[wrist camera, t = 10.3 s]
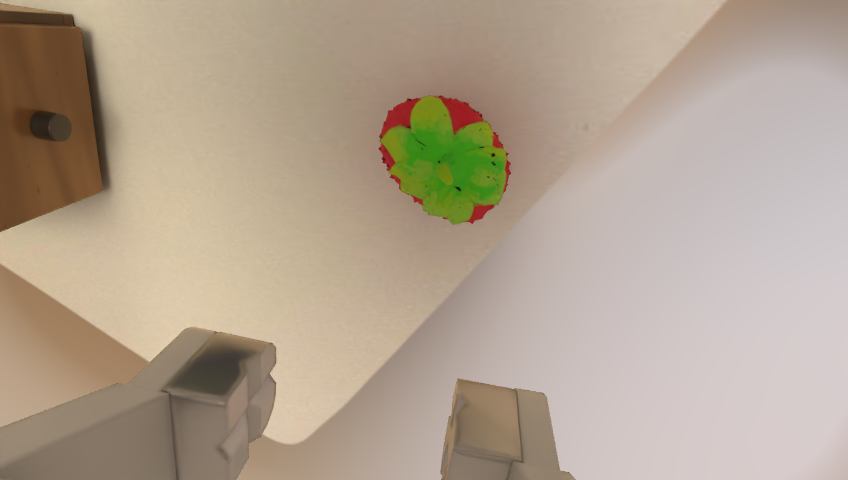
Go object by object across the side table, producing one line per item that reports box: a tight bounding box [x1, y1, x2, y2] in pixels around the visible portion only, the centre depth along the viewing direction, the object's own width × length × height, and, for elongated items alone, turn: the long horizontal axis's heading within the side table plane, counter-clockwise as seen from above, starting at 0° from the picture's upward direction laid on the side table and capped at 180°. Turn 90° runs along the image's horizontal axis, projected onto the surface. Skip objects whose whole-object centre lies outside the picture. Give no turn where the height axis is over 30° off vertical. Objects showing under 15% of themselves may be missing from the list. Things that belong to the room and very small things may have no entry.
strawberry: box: [379, 96, 511, 225], centre depth 25 cm, size 6×7×10 cm
